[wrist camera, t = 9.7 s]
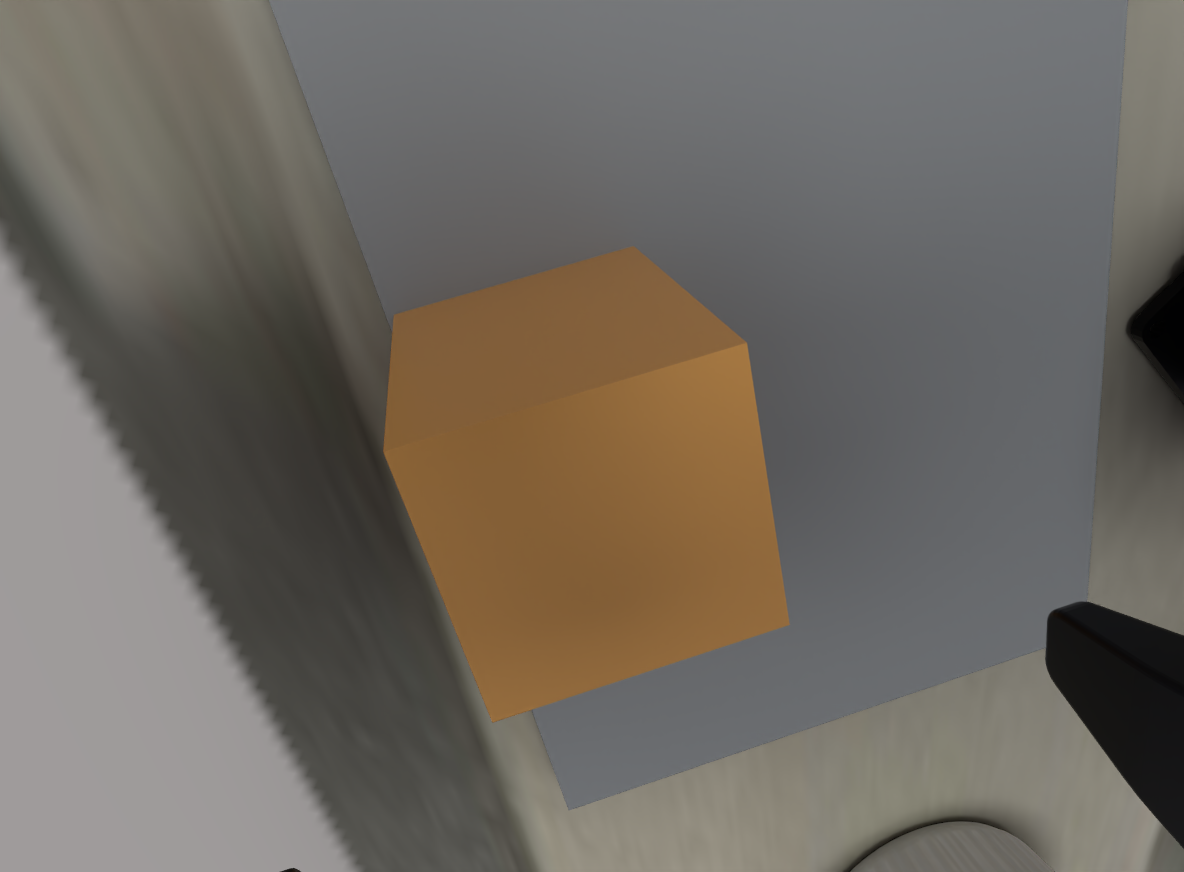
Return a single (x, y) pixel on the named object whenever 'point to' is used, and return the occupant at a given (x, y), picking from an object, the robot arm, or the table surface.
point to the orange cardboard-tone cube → (583, 477)
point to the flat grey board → (784, 293)
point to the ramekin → (954, 851)
